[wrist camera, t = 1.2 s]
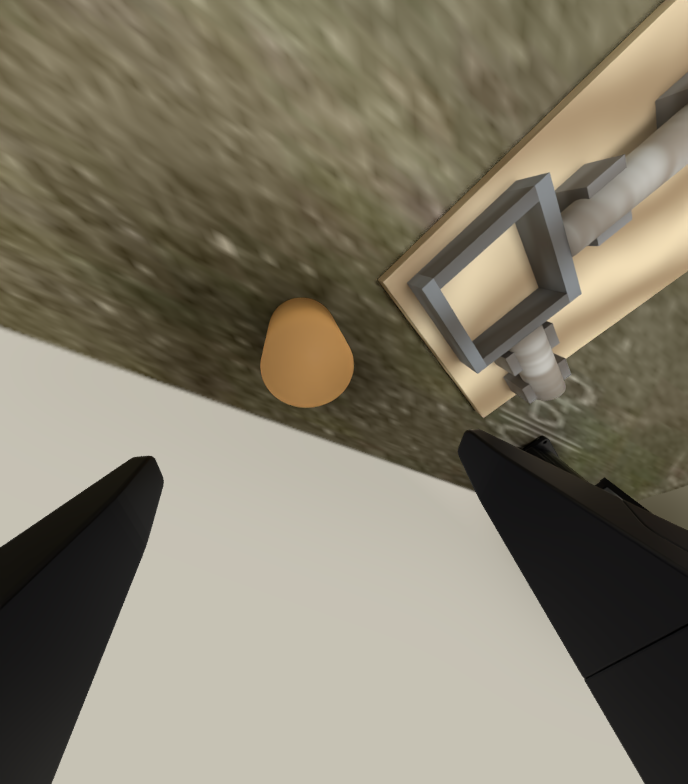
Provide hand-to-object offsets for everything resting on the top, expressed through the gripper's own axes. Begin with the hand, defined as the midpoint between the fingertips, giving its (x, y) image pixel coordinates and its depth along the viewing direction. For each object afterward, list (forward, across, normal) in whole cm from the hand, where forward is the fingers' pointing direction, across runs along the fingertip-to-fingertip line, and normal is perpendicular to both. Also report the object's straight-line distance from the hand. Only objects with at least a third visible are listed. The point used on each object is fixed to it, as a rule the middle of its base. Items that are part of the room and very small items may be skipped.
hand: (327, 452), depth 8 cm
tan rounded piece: (+12, 0, 0) cm, 12 cm away
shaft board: (+12, -18, -5) cm, 22 cm away
